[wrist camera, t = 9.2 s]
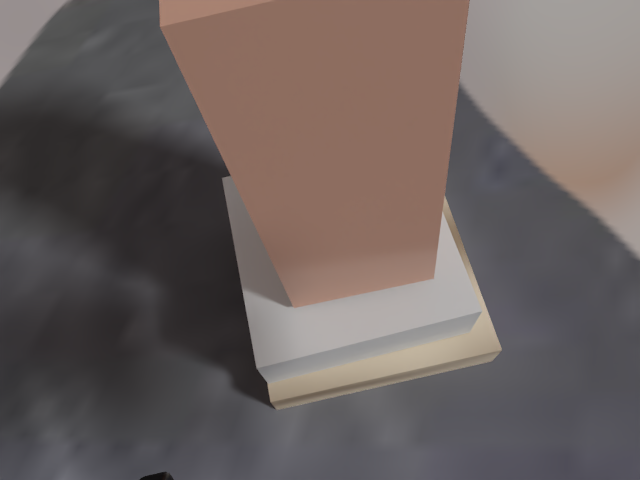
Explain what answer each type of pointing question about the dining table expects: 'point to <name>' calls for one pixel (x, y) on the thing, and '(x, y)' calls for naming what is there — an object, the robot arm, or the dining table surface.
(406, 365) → the bottom slab
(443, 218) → the top slab
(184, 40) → the pillar
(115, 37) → the dining table surface
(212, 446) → the dining table surface
